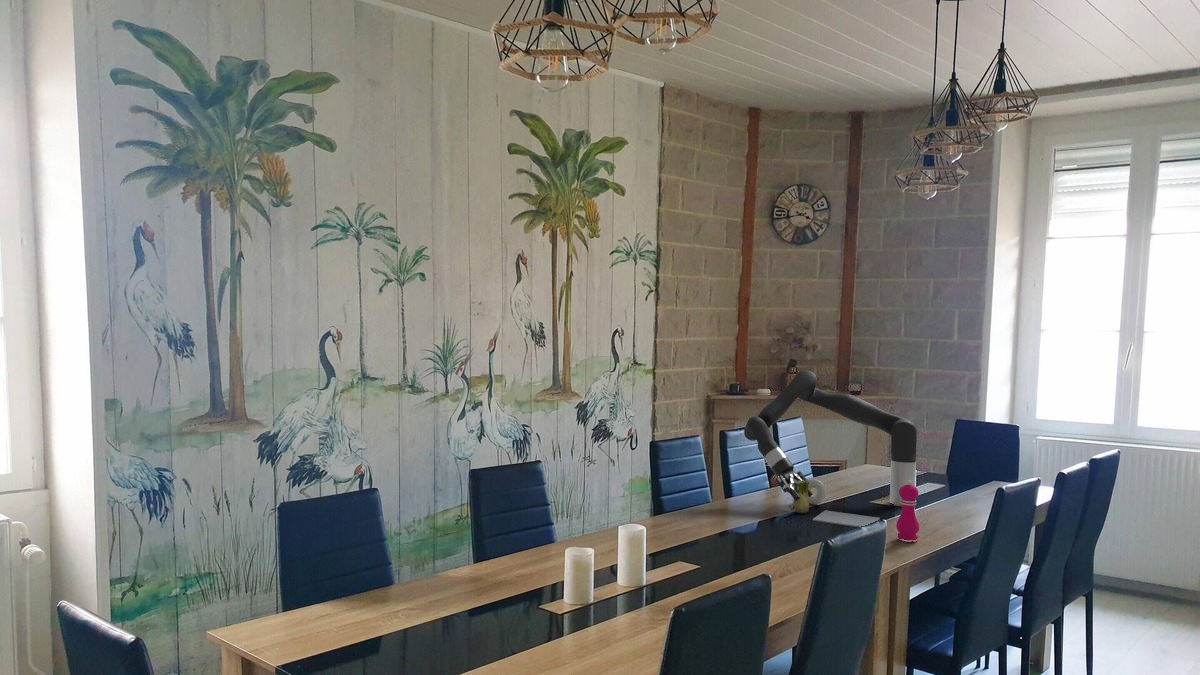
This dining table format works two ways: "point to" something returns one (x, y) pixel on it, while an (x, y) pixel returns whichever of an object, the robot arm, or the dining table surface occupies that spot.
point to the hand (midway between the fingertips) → (804, 497)
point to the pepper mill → (908, 513)
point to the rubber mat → (844, 519)
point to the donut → (820, 491)
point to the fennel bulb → (801, 497)
